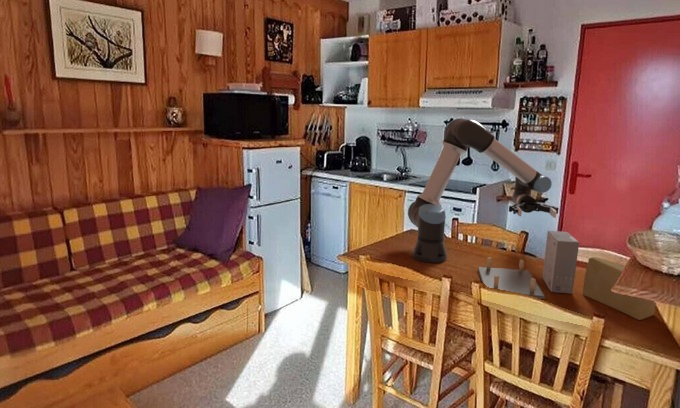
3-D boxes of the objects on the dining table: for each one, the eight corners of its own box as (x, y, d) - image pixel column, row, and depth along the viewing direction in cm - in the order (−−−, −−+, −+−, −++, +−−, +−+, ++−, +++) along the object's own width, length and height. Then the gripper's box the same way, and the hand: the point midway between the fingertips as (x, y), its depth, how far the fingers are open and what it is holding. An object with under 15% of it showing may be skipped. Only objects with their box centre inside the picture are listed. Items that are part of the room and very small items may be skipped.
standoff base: (485, 294, 165) (487, 278, 164) (478, 270, 190) (479, 255, 189) (544, 299, 162) (546, 282, 160) (528, 273, 187) (530, 258, 185)
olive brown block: (574, 296, 165) (580, 257, 162) (590, 291, 170) (596, 253, 167) (639, 321, 146) (646, 277, 143) (655, 315, 151) (662, 272, 148)
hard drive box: (573, 294, 167) (579, 242, 162) (550, 292, 168) (557, 241, 164) (561, 279, 182) (567, 231, 177) (541, 277, 183) (546, 229, 179)
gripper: (554, 212, 209) (568, 223, 188) (497, 210, 213) (505, 221, 192) (556, 196, 207) (570, 206, 187) (498, 194, 211) (507, 204, 191)
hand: (537, 213), depth 189 cm, fingers open, 13 cm apart
